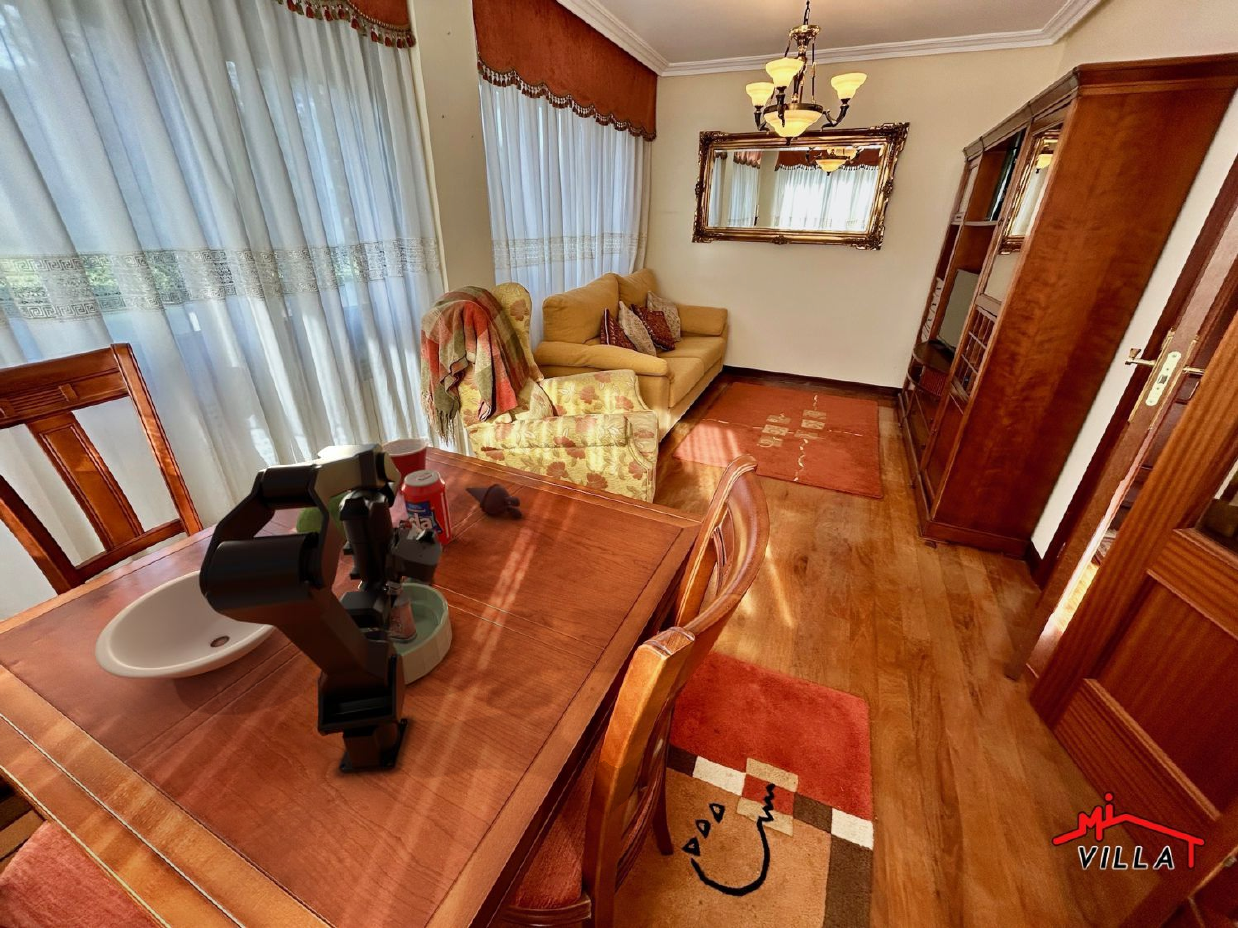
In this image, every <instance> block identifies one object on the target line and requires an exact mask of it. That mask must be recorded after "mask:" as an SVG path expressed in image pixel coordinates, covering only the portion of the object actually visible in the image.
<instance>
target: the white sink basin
mask: <svg viewBox="0 0 1238 928" xmlns="http://www.w3.org/2000/svg"><path fill="white" fill-rule="evenodd" d="M199 574H200V569H198V570H196V571H192V572H190V573H187V574H184V575H182V576H179V577H177V578H174V579H172V580H170V581H167V582H166V583H164V584H162V585H159V586H157V587H155V588H154V589H151V590H150V591H148V592H147V593H145V594H143V595H142V596H140V597H138V598H136V599H135V600H133V602H131V603H129V604H128V605H127V606H125V608H123V609H122V610H120V612H119V613H117V614H116V615H115V616H114V617H113V618H112V619H111V620H110V621H109V622H108V623H107V624H106V625H105V627H104V628H103V630H102V631H101V632H100V634H99V636H98V637H97V640H96V643H95V646H94V657H95V661H96V663H97V665H98V667H100V668H101V669H102V670H103V671H104V672H106V673H108V674H110V675H111V676H114V677H118V678H123V679H130V680H152V679H153V680H154V679H178V678H185V677H186V678H187V677H192V676H196V675H201V674H205V673H207V672H210V671H215V670H217V669H219V668H222V667H225V666H226V665H229V664H231V663H233V662H235V661H237V660H239V659H241V658H242V657H244V656H246V655H247V654H249V653H250V652H252V651H253V650H255V649H256V648H257V647H259V646H260V645H261V644H262V643H263V642H265V641H266V640H267V639H268V638H269V637H270V636H271V635H272V634H273V633H274V632H275V630H276V629H278V628H277V627H275V626H272V625H264V624H256V623H248V622H239V621H236V620H233V619H231V618H229V617H226V616H224V615H222V614H219V613H217V612H216V611H214V610H213V609H212V607H211V606H210V605H209V604H208V602H207V600H206V599H205V597H204V596H203V594H202V593H201V589H200V586H199ZM223 637H228V638H229V639H228V641H226V642H225V643H224V644H222V645H219V646H211V645H212V643H213V642H214V641H215V640H218V639H220V638H223Z"/></svg>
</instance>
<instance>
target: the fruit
mask: <svg viewBox="0 0 1238 928" xmlns="http://www.w3.org/2000/svg"><path fill="white" fill-rule="evenodd" d="M349 493H351V491H347V492H344V493H342V494H340V495H338V496H336V497H333V498H331V499H330V502H329V506H328V512H329V514H330V515H331V517H332V519H333V521H334V522H335V524H336V526H337V528H338V529H339V531H340V533H341V535H342V544H343V543H345V542H346V541H347V537H346V533H345V529H344V525H343V521H340V520H339V512H340V509H339V505H340V503H341V501H342V500H343V498H344V497H345V496H346V495H348V494H349ZM322 520H323V515H322V514H321V512H320V510H319V508H318V507H313V508H301V511H300V513H299V514H298V516H297V518H296V523H295V530H296V533H304V532H316V531H317V532H319V533H320V530H321V525H322Z"/></svg>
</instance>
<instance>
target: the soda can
mask: <svg viewBox="0 0 1238 928" xmlns="http://www.w3.org/2000/svg"><path fill="white" fill-rule="evenodd" d="M402 494H403V495H402V500H403V504H404V510H405V515H406V519H407V518H409V521H411V522H413V523H414V524H415V525H416V526H417V527H419V528H422V529H424V530H425V529H426V528H428V529H432V530H435V531H436V533H437V536H438V543H439V542H441V546H442V548H443V547H445V546H446V545H448V544H449V543H450V542H451V540H452V539H453V529H452V521H451V516H450V508H449V507H450V506H449V501H448V493H447V487H446V482H445V480H444V479H443V478H442V477H441V474H440V473H439V471H437V470H434V469H425V470H419V471H415V472H412V473H410V474H408V475H407V476H406V477H405V478H404V484H403V485H402Z"/></svg>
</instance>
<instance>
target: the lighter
mask: <svg viewBox="0 0 1238 928" xmlns="http://www.w3.org/2000/svg"><path fill="white" fill-rule="evenodd" d="M387 586H389V587H390V591H389V594H390V595H396V594H398V596H397V599H396V601H395V603H394V606H393V608H392V609H391V610H390V629H389V631H386V632H388V635H389V637H390V639H391V640H393V641H394V642H393V643H398V644H409V643H412V642H413V641H414V640H415V639H416V638H417V636H418V635H417V630H416V628H415V627H414V622H413V617H412V612H411V607H410V602H411V600H410V595H409V594H408V593H406V592H404V590H403V586H402V585H401V584H398V583H394V582H391V581H389V582H388V584H387ZM358 591H363V590H359V589H358ZM375 630H380V629H378V628H368V631H375Z"/></svg>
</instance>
